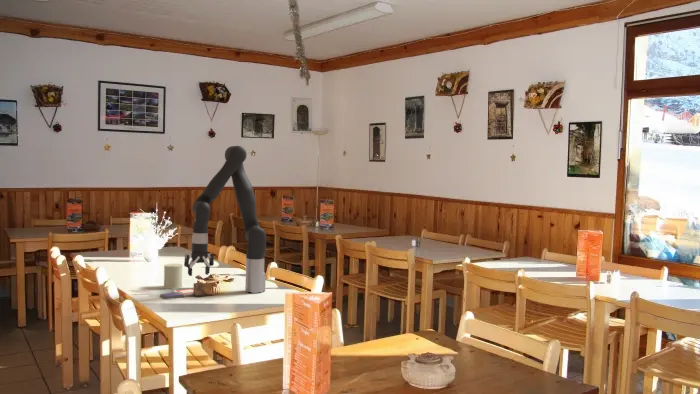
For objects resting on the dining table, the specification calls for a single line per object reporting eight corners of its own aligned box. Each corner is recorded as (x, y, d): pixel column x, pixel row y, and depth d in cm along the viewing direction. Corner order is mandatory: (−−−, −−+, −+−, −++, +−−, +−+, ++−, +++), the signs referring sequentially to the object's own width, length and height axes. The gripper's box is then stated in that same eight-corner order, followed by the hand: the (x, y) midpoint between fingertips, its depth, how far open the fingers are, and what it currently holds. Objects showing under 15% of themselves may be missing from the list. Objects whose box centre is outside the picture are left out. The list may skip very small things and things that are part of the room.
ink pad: (178, 294, 301) (178, 291, 301) (183, 297, 295) (183, 294, 295) (160, 296, 295) (160, 293, 295) (165, 299, 290) (165, 296, 290)
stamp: (201, 294, 303) (201, 282, 302) (205, 296, 299) (205, 284, 299) (192, 295, 300) (193, 283, 300) (196, 297, 297) (196, 284, 296)
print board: (193, 289, 313) (193, 288, 313) (202, 293, 305) (202, 291, 305) (172, 291, 306) (172, 290, 306) (180, 295, 298) (181, 294, 298)
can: (163, 289, 312) (163, 265, 311) (163, 285, 321) (164, 262, 320) (182, 288, 314) (182, 265, 314) (182, 285, 323) (182, 262, 322)
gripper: (189, 243, 291) (187, 277, 292) (216, 242, 300) (215, 275, 301) (182, 241, 297) (181, 274, 298) (210, 240, 306) (208, 272, 306)
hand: (198, 275), depth 299 cm, fingers open, 8 cm apart
